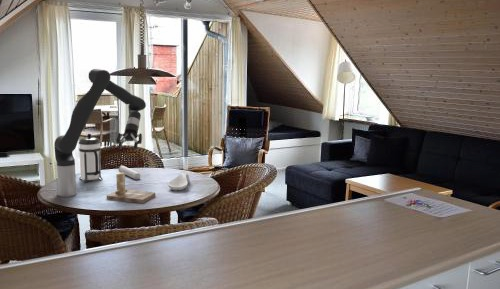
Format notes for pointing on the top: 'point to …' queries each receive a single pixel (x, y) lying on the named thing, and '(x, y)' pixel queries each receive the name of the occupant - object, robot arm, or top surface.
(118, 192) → the tan wooden column
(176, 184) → the spoon rest
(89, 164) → the coffee press
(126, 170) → the tube
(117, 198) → the board
